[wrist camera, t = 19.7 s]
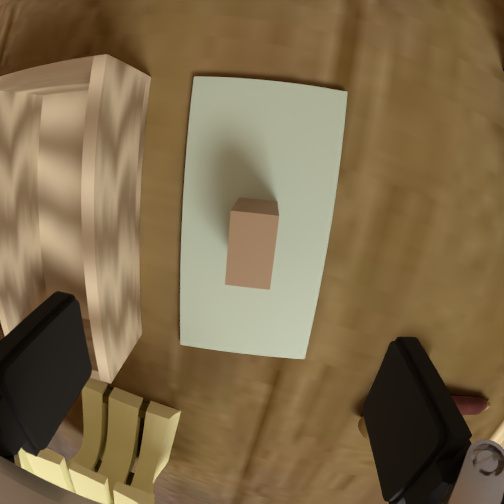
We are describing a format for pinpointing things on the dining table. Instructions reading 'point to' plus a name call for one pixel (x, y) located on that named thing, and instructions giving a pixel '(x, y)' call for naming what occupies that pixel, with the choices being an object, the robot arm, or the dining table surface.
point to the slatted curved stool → (112, 448)
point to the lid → (257, 212)
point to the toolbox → (74, 198)
